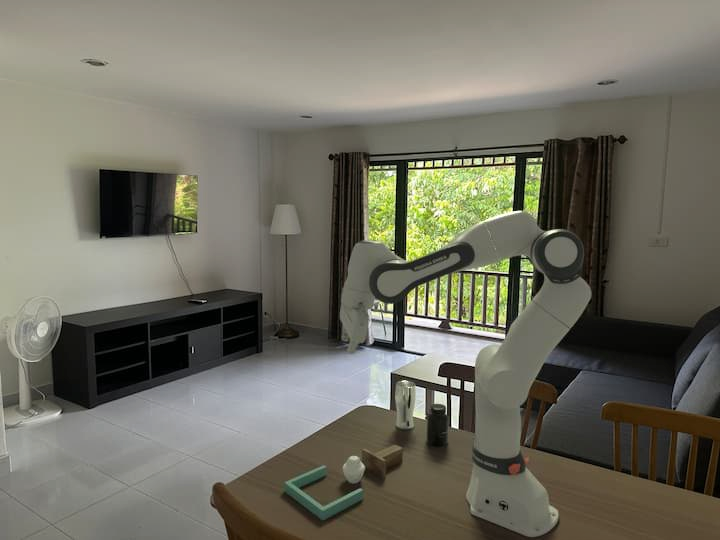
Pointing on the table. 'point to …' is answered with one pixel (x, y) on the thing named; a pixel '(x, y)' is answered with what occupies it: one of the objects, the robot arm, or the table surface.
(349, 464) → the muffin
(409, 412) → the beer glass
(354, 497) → the frame
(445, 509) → the table surface
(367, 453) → the wooden post on base
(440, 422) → the supplement bottle
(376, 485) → the table surface
